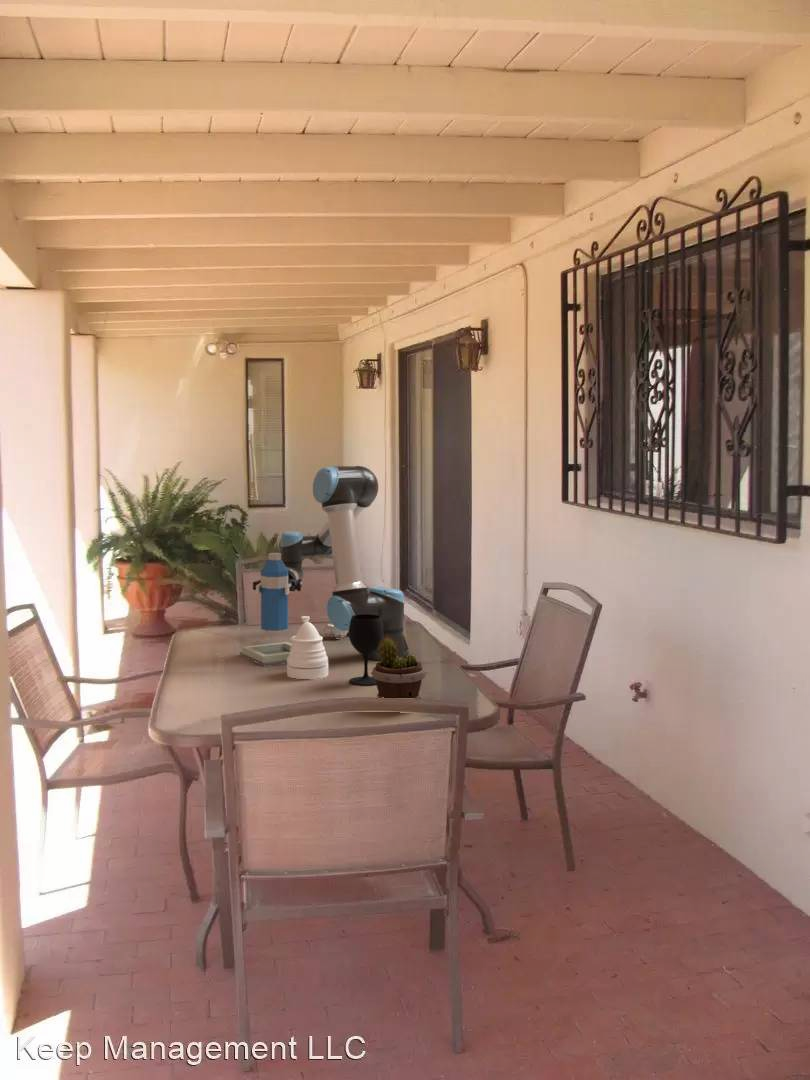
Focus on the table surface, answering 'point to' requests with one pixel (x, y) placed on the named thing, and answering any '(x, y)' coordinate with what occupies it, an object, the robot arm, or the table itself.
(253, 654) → the pale green tray
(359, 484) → the robot arm
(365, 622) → the wine glass
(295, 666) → the honey pot
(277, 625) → the water bottle
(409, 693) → the flowerpot
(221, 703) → the table surface
